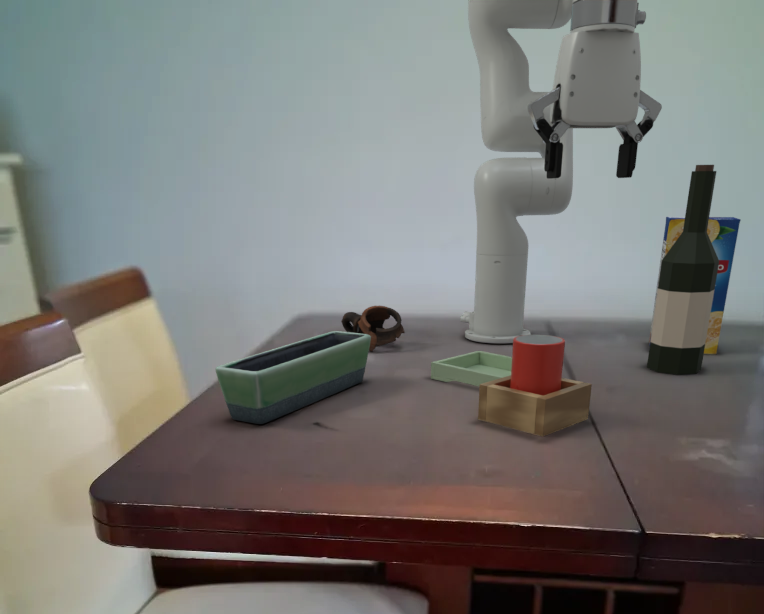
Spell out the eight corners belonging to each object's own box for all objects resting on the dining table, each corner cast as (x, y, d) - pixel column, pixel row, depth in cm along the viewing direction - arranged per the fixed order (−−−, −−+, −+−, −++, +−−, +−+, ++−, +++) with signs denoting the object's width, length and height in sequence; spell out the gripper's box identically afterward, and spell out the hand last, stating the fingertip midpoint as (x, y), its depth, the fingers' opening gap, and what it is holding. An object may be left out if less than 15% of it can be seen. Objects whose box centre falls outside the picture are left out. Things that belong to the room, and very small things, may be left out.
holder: (477, 423, 95) (479, 384, 93) (524, 407, 101) (526, 370, 99) (542, 441, 88) (545, 399, 86) (587, 423, 94) (592, 383, 92)
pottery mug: (405, 343, 143) (412, 309, 136) (391, 375, 137) (397, 340, 130) (346, 325, 143) (349, 290, 137) (329, 356, 138) (333, 321, 131)
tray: (430, 378, 116) (430, 362, 115) (478, 366, 123) (478, 350, 122) (505, 396, 106) (506, 378, 105) (552, 381, 114) (553, 364, 112)
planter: (261, 430, 93) (257, 373, 90) (217, 421, 96) (212, 366, 93) (373, 381, 115) (373, 334, 112) (334, 375, 118) (333, 330, 115)
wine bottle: (705, 375, 116) (742, 164, 104) (649, 373, 118) (679, 164, 105) (696, 363, 123) (729, 164, 111) (643, 361, 125) (670, 165, 113)
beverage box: (648, 343, 138) (665, 216, 129) (711, 346, 136) (734, 217, 127) (650, 351, 132) (669, 218, 123) (716, 354, 130) (740, 219, 121)
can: (498, 418, 94) (502, 339, 90) (527, 408, 98) (533, 332, 94) (538, 429, 90) (545, 346, 86) (567, 418, 94) (575, 338, 90)
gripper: (653, 29, 94) (637, 178, 100) (523, 26, 91) (514, 179, 98) (686, 16, 87) (666, 176, 94) (546, 12, 84) (535, 177, 91)
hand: (588, 177), depth 96 cm, fingers open, 9 cm apart
